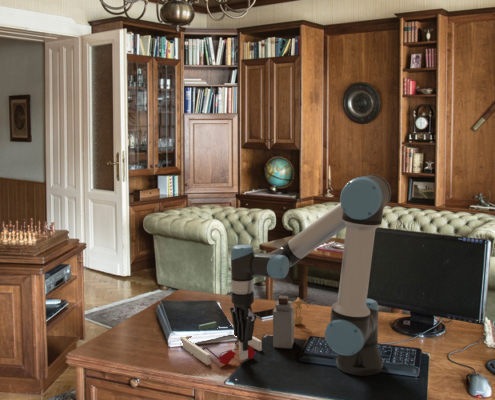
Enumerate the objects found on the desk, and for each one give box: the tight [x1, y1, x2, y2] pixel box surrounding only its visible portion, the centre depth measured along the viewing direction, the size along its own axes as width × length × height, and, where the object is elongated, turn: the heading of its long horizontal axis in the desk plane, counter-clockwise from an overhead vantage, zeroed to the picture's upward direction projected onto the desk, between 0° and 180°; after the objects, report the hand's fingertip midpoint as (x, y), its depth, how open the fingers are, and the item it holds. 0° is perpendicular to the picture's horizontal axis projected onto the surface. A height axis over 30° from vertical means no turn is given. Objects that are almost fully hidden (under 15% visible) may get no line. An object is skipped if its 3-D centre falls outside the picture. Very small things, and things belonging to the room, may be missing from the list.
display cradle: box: [179, 321, 263, 366], centre depth 202 cm, size 20×22×6 cm
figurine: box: [291, 296, 309, 326], centre depth 224 cm, size 8×6×12 cm
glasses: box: [202, 340, 257, 365], centre depth 196 cm, size 14×16×5 cm
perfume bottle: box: [272, 295, 295, 349], centre depth 204 cm, size 7×7×18 cm
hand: (243, 358), depth 189 cm, fingers closed
